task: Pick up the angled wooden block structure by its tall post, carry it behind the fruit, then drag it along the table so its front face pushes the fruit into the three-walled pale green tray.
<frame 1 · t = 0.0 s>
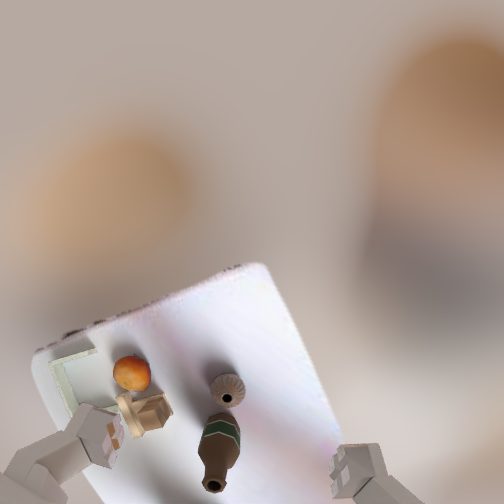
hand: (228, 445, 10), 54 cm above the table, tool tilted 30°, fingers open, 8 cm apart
beer bottle: (222, 427, 60), on the table
tray: (87, 383, 60), on the table
angled wooden block structure: (160, 405, 60), on the table
fruit: (137, 370, 61), on the table
vase: (228, 385, 62), on the table
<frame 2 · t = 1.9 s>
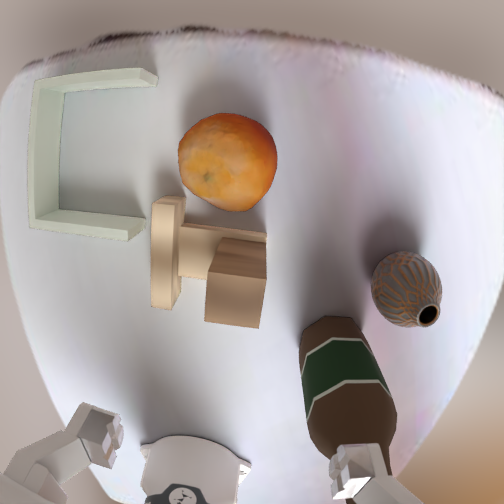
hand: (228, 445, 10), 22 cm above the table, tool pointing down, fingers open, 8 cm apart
beer bottle: (330, 340, 34), on the table
tray: (96, 150, 27), on the table
angled wooden block structure: (242, 254, 31), on the table
fruit: (232, 159, 28), on the table
vase: (392, 273, 31), on the table
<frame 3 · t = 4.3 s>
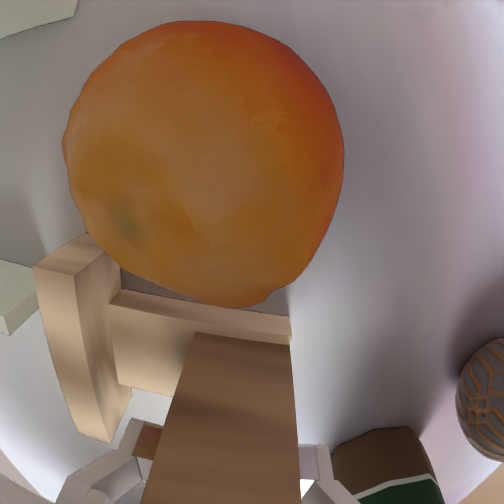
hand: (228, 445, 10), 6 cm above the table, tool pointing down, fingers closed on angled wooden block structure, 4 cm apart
beer bottle: (372, 451, 18), on the table
angled wooden block structure: (239, 352, 15), on the table, touching gripper
fruit: (219, 156, 12), on the table
vase: (482, 362, 15), on the table
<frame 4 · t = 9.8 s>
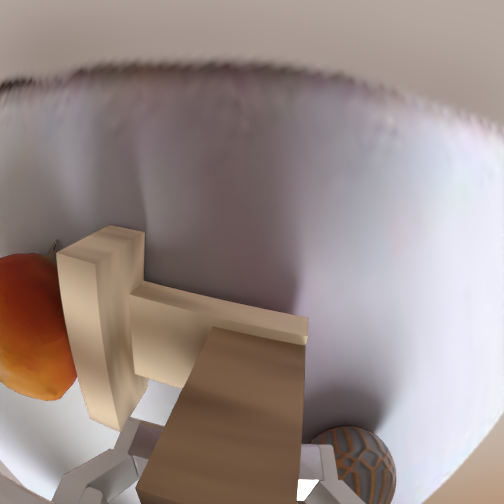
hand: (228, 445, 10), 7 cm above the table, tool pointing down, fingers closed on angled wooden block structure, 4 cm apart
angled wooden block structure: (256, 351, 15), point 1 cm above the table, tilted 6°, touching fruit, gripper
fruit: (55, 295, 16), on the table, touching angled wooden block structure
vase: (337, 439, 19), on the table
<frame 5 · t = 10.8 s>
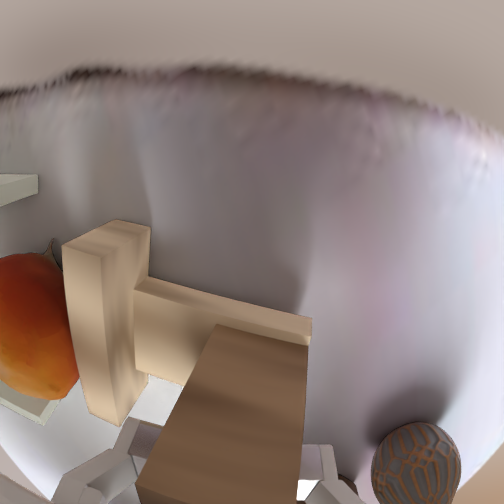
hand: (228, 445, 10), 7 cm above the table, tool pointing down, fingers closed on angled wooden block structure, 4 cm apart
beer bottle: (315, 488, 23), on the table
angled wooden block structure: (258, 350, 15), point 1 cm above the table, tilted 8°, touching gripper
fruit: (57, 296, 16), on the table
vase: (403, 435, 20), on the table
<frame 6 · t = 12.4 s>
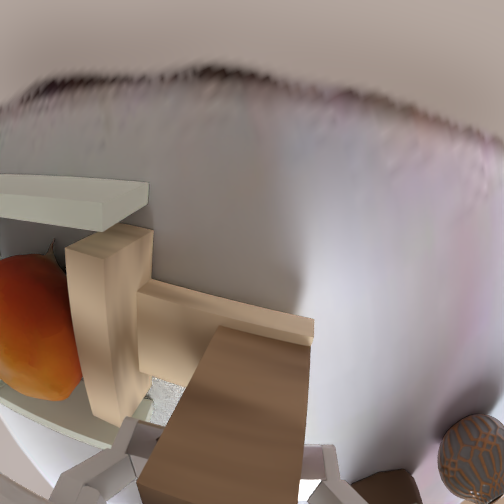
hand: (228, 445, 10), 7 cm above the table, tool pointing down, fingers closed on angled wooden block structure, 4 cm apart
beer bottle: (377, 484, 23), on the table
tray: (58, 301, 16), on the table
angled wooden block structure: (261, 351, 15), point 1 cm above the table, tilted 8°, touching fruit, gripper
fruit: (59, 297, 16), on the table, touching angled wooden block structure
vase: (461, 427, 20), on the table
when the fingers open (7 cm above the table, at t = 13.9 s): angled wooden block structure stays where it is, on the table.
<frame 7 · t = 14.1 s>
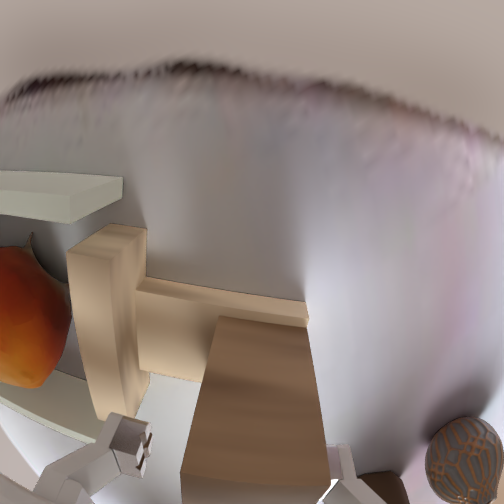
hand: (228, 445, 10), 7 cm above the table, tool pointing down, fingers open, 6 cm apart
beer bottle: (364, 485, 23), on the table
tray: (41, 294, 16), on the table
angled wooden block structure: (257, 337, 16), on the table, touching gripper
fruit: (37, 288, 16), on the table
vase: (450, 430, 20), on the table
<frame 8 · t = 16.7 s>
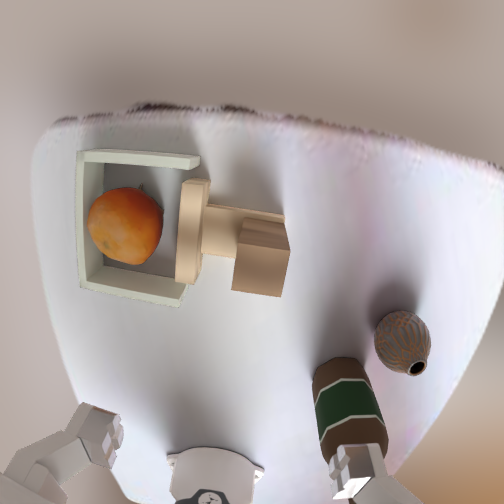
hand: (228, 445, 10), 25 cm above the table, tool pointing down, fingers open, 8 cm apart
beer bottle: (338, 374, 40), on the table
tray: (141, 219, 33), on the table
angled wooden block structure: (261, 234, 33), on the table
fruit: (137, 216, 33), on the table
vase: (392, 324, 37), on the table
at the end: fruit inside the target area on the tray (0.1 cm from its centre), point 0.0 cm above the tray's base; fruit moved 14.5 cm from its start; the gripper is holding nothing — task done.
